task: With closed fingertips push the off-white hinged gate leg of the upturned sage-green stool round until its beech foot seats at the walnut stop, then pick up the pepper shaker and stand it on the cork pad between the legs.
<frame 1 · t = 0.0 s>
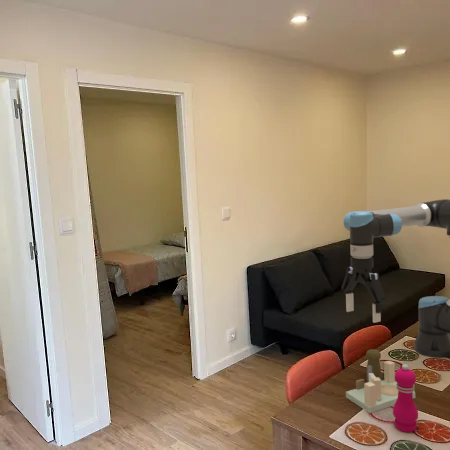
hand: (362, 316, 157), 28 cm above the table, fingers open, 13 cm apart
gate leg: (374, 385, 153), point 6 cm above the table, hinge at 65.0°
pepper shaker: (373, 378, 170), on the table
pepper mill: (405, 427, 138), on the table
stand: (380, 397, 156), on the table
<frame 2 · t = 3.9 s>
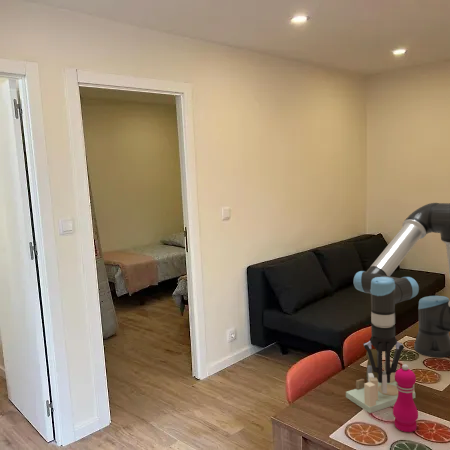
hand: (384, 391, 152), 4 cm above the table, fingers closed
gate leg: (372, 385, 153), point 6 cm above the table, hinge at 58.2°, touching gripper
everything else where it was.
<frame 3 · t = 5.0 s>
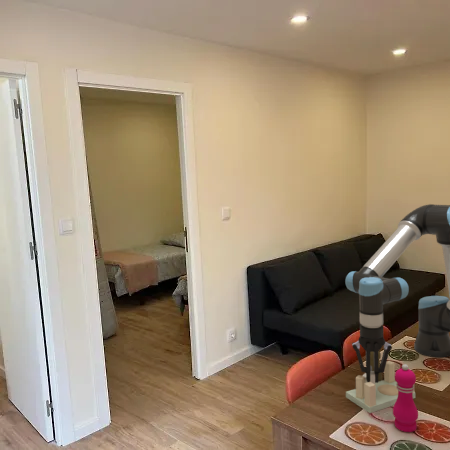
hand: (372, 391, 153), 4 cm above the table, fingers closed
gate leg: (363, 383, 155), point 6 cm above the table, hinge at 24.8°, touching gripper
everything else where it was.
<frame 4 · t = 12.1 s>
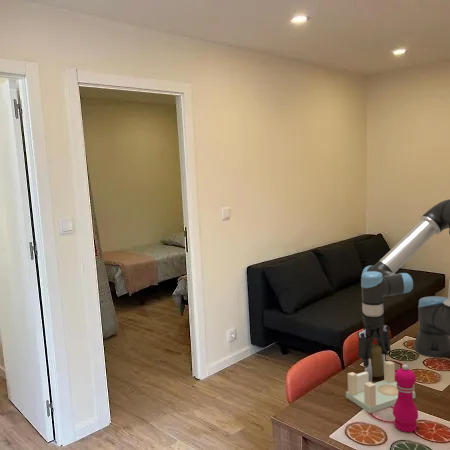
hand: (375, 372, 170), 2 cm above the table, fingers closed on pepper shaker, 6 cm apart
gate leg: (358, 381, 156), point 6 cm above the table, hinge at 0.2°
pepper shaker: (375, 373, 170), point 2 cm above the table, touching gripper
everything else where it was.
when the fingers open (4 cm above the table, at t = 16.5 s): pepper shaker drops 1 cm, resting on stand.
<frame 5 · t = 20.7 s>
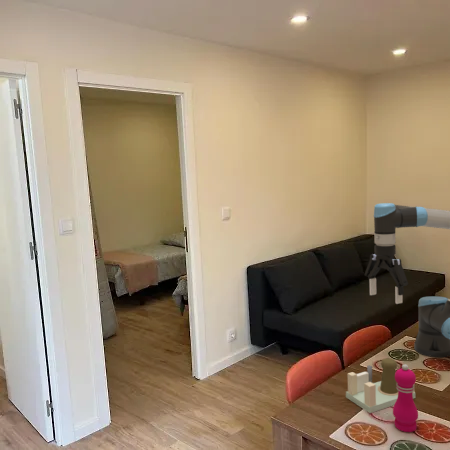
hand: (385, 298, 173), 29 cm above the table, fingers open, 13 cm apart
pepper shaker: (389, 390, 157), point 2 cm above the table, touching stand
everything else where it was.
at the end: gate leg at +0° (first picture: +65°); pepper shaker inside the target area on the stand (0.0 cm from its centre), point 2.0 cm above the stand's base; pepper shaker tilted 0° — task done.
